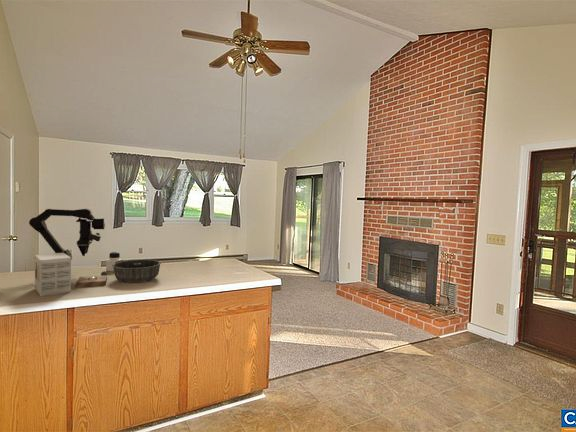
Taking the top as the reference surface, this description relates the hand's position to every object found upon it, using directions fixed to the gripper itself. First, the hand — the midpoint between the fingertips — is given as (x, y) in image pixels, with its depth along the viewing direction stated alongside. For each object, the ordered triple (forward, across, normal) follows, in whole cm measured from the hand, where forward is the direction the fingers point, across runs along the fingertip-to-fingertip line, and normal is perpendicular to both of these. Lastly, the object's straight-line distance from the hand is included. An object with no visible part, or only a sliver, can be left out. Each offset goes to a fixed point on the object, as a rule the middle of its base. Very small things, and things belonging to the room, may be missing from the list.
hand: (84, 254), depth 206 cm
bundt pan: (+13, -18, -30) cm, 37 cm away
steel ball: (+11, -21, -7) cm, 25 cm away
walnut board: (+13, -21, -7) cm, 26 cm away
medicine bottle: (+13, +11, -16) cm, 23 cm away
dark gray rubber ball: (+11, -7, -11) cm, 17 cm away
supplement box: (+13, -32, +10) cm, 36 cm away
